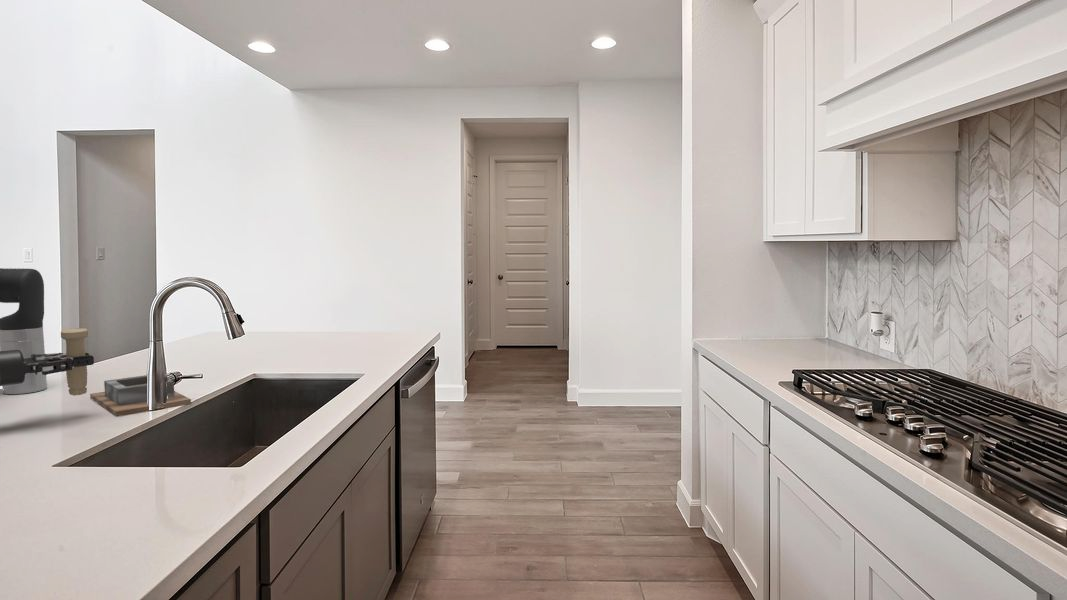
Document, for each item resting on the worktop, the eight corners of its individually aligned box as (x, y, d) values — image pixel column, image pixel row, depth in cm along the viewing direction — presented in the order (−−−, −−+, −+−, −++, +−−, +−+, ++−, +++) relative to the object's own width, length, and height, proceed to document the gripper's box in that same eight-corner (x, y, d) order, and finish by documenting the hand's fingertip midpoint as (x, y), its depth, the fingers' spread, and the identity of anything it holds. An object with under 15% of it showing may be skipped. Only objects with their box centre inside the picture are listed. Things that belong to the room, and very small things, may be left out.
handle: (62, 398, 137) (58, 333, 135) (67, 392, 142) (63, 329, 141) (89, 396, 139) (85, 331, 138) (92, 389, 145) (89, 327, 143)
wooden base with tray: (90, 398, 157) (89, 378, 157) (159, 387, 169) (158, 369, 169) (116, 416, 141) (115, 394, 141) (190, 403, 153) (190, 383, 153)
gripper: (-3, 357, 124) (98, 346, 137) (-13, 347, 134) (82, 338, 146) (0, 392, 125) (100, 379, 138) (-10, 380, 134) (84, 369, 147)
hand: (90, 358), depth 142 cm, fingers closed on handle, 3 cm apart
